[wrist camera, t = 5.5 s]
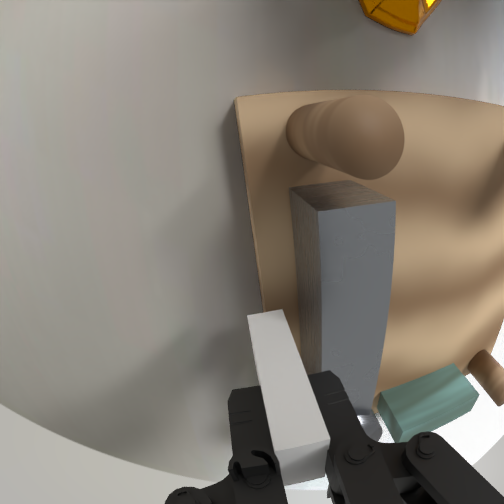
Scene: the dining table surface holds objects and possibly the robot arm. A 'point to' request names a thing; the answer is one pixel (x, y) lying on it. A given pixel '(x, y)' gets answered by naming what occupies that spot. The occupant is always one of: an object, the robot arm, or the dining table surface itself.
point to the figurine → (399, 13)
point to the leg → (344, 284)
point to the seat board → (406, 229)
